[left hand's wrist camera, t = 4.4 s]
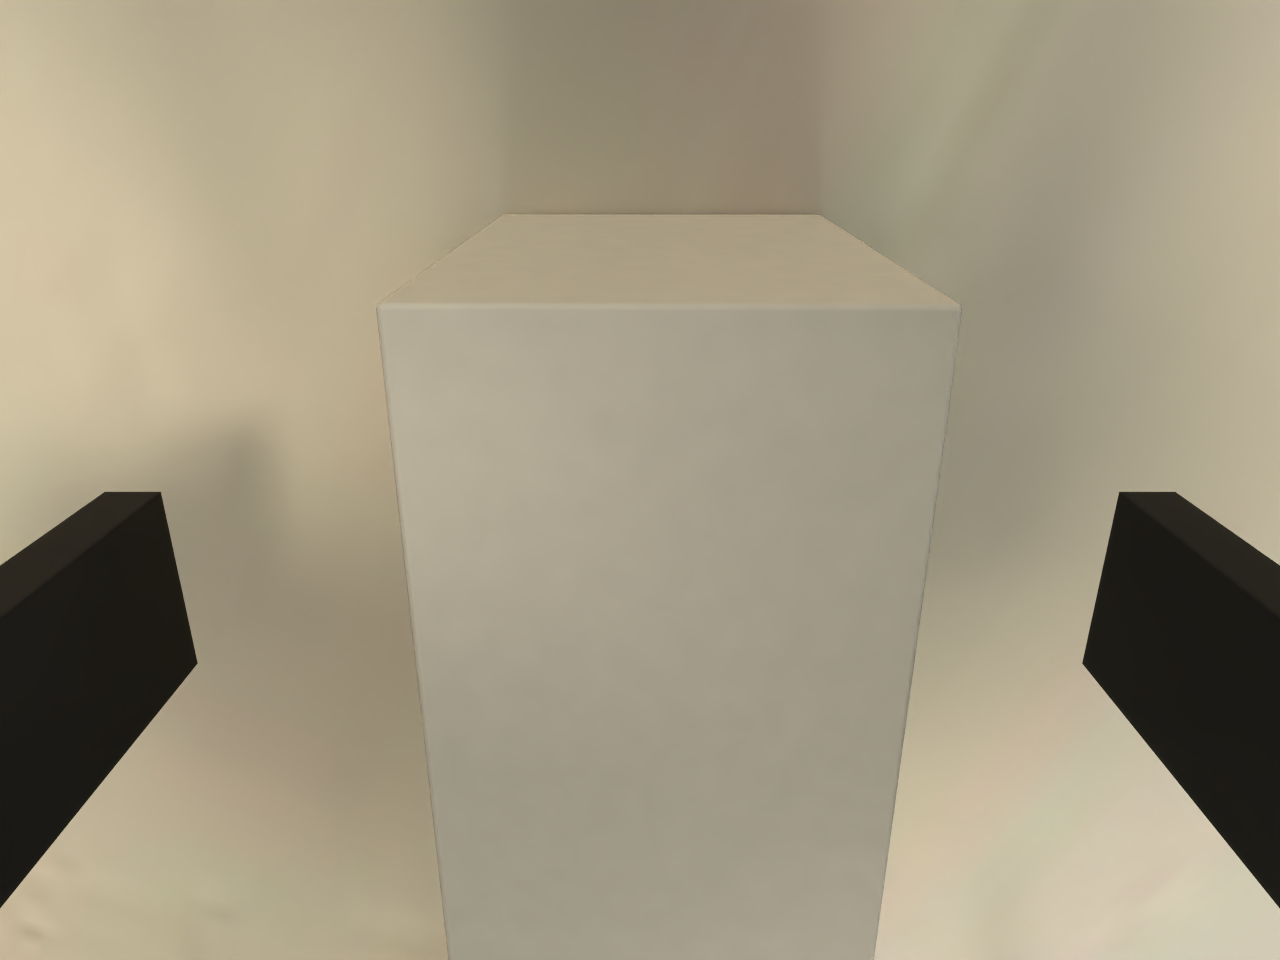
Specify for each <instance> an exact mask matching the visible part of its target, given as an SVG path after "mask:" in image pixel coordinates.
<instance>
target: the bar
mask: <svg viewBox="0 0 1280 960" xmlns="http://www.w3.org/2000/svg"><path fill="white" fill-rule="evenodd" d="M376 310H377V319H378V328H379V337H380V346H381V355H382V364H383V373H384V382H385V391H386V400H387V409H388V418H389V427H390V436H391V445H392V454H393V463H394V472H395V481H396V490H397V499H398V508H399V517H400V526H401V535H402V544H403V553H404V562H405V571H406V580H407V589H408V598H409V607H410V616H411V625H412V634H413V643H414V652H415V661H416V670H417V679H418V688H419V696H420V705H421V714H422V723H423V732H424V741H425V750H426V759H427V768H428V777H429V786H430V795H431V804H432V813H433V822H434V831H435V840H436V849H437V858H438V867H439V876H440V885H441V894H442V903H443V912H444V921H445V930H446V939H447V948H448V957H449V960H874V954H875V946H876V939H877V932H878V924H879V917H880V910H881V902H882V895H883V887H884V880H885V873H886V865H887V858H888V851H889V843H890V836H891V829H892V821H893V814H894V807H895V799H896V792H897V785H898V777H899V770H900V762H901V755H902V748H903V740H904V733H905V726H906V718H907V711H908V704H909V696H910V689H911V682H912V674H913V667H914V659H915V652H916V645H917V637H918V630H919V623H920V615H921V608H922V601H923V593H924V586H925V579H926V571H927V564H928V557H929V549H930V542H931V534H932V527H933V520H934V512H935V505H936V498H937V490H938V483H939V476H940V468H941V461H942V454H943V446H944V439H945V431H946V424H947V417H948V409H949V402H950V395H951V387H952V380H953V373H954V365H955V358H956V351H957V343H958V336H959V329H960V321H961V314H962V309H961V305H959V304H958V303H956V302H955V301H953V300H952V299H950V298H948V297H947V296H945V295H944V294H942V293H941V292H939V291H938V290H936V289H935V288H933V287H931V286H930V285H928V284H927V283H925V282H924V281H922V280H921V279H919V278H917V277H916V276H914V275H913V274H911V273H910V272H908V271H907V270H905V269H903V268H902V267H900V266H899V265H897V264H896V263H894V262H893V261H891V260H889V259H888V258H886V257H885V256H883V255H882V254H880V253H879V252H877V251H875V250H874V249H872V248H871V247H869V246H868V245H866V244H865V243H863V242H861V241H860V240H858V239H857V238H855V237H854V236H852V235H851V234H849V233H847V232H846V231H844V230H843V229H841V228H840V227H838V226H837V225H835V224H833V223H832V222H830V221H829V220H827V219H826V218H824V217H823V216H821V215H760V214H504V215H502V216H500V217H499V218H498V219H496V220H495V221H493V222H492V223H490V224H489V225H488V226H486V227H485V228H483V229H482V230H481V231H479V232H478V233H476V234H475V235H474V236H472V237H471V238H469V239H468V240H467V241H465V242H464V243H462V244H461V245H460V246H458V247H457V248H455V249H454V250H453V251H451V252H450V253H448V254H447V255H446V256H444V257H443V258H441V259H440V260H439V261H437V262H436V263H434V264H433V265H431V266H430V267H429V268H427V269H426V270H424V271H423V272H422V273H420V274H419V275H417V276H416V277H415V278H413V279H412V280H410V281H409V282H408V283H406V284H405V285H403V286H402V287H401V288H399V289H398V290H396V291H395V292H394V293H392V294H391V295H389V296H388V297H387V298H385V299H384V300H382V301H381V302H380V303H378V305H377V308H376Z"/></svg>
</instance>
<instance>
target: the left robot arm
mask: <svg viewBox="0 0 1280 960" xmlns="http://www.w3.org/2000/svg"><path fill="white" fill-rule="evenodd" d="M197 664H198V663H197V658H196V654H195V649H194V645H193V640H192V635H191V631H190V626H189V621H188V617H187V612H186V607H185V603H184V598H183V593H182V589H181V584H180V579H179V575H178V570H177V565H176V561H175V556H174V552H173V547H172V542H171V538H170V533H169V528H168V524H167V519H166V514H165V510H164V505H163V500H162V496H161V492H104V493H103V494H101V495H100V496H98V497H97V498H96V499H94V500H93V501H91V502H90V503H88V504H87V505H86V506H84V507H83V508H81V509H80V510H79V511H77V512H76V513H74V514H73V515H71V516H70V517H69V518H67V519H66V520H64V521H63V522H61V523H60V524H59V525H57V526H56V527H54V528H53V529H52V530H50V531H49V532H47V533H46V534H44V535H43V536H42V537H40V538H39V539H37V540H36V541H35V542H33V543H32V544H30V545H29V546H27V547H26V548H25V549H23V550H22V551H20V552H19V553H18V554H16V555H15V556H13V557H12V558H10V559H9V560H8V561H6V562H5V563H3V564H2V565H0V908H1V907H2V905H3V904H4V903H5V902H6V900H7V899H8V898H9V897H10V895H11V894H12V893H13V892H14V890H15V889H16V888H17V887H18V886H19V884H20V883H21V882H22V881H23V879H24V878H25V877H26V876H27V874H28V873H29V872H30V871H31V869H32V868H33V867H34V866H35V864H36V863H37V862H38V861H39V859H40V858H41V857H42V856H43V854H44V853H45V852H46V851H47V850H48V848H49V847H50V846H51V845H52V843H53V842H54V841H55V840H56V838H57V837H58V836H59V835H60V833H61V832H62V831H63V830H64V828H65V827H66V826H67V825H68V823H69V822H70V821H71V820H72V819H73V817H74V816H75V815H76V814H77V812H78V811H79V810H80V809H81V807H82V806H83V805H84V804H85V802H86V801H87V800H88V799H89V797H90V796H91V795H92V794H93V792H94V791H95V790H96V789H97V788H98V786H99V785H100V784H101V783H102V781H103V780H104V779H105V778H106V776H107V775H108V774H109V773H110V771H111V770H112V769H113V768H114V766H115V765H116V764H117V763H118V761H119V760H120V759H121V758H122V757H123V755H124V754H125V753H126V752H127V750H128V749H129V748H130V747H131V745H132V744H133V743H134V742H135V740H136V739H137V738H138V737H139V735H140V734H141V733H142V732H143V730H144V729H145V728H146V727H147V726H148V724H149V723H150V722H151V721H152V719H153V718H154V717H155V716H156V714H157V713H158V712H159V711H160V709H161V708H162V707H163V706H164V704H165V703H166V702H167V701H168V699H169V698H170V697H171V696H172V695H173V693H174V692H175V691H176V690H177V688H178V687H179V686H180V685H181V683H182V682H183V681H184V680H185V678H186V677H187V676H188V675H189V673H190V672H191V671H192V670H193V668H194V667H195V666H196V665H197ZM1082 664H1083V665H1084V666H1085V667H1086V668H1087V670H1088V671H1089V672H1090V673H1091V675H1092V676H1093V677H1094V678H1095V680H1096V681H1097V682H1098V683H1099V685H1100V686H1101V687H1102V688H1103V690H1104V691H1105V692H1106V693H1107V695H1108V696H1109V697H1110V698H1111V699H1112V701H1113V702H1114V703H1115V704H1116V706H1117V707H1118V708H1119V709H1120V711H1121V712H1122V713H1123V714H1124V716H1125V717H1126V718H1127V719H1128V721H1129V722H1130V723H1131V724H1132V726H1133V727H1134V728H1135V729H1136V730H1137V732H1138V733H1139V734H1140V735H1141V737H1142V738H1143V739H1144V740H1145V742H1146V743H1147V744H1148V745H1149V747H1150V748H1151V749H1152V750H1153V752H1154V753H1155V754H1156V755H1157V757H1158V758H1159V759H1160V760H1161V761H1162V763H1163V764H1164V765H1165V766H1166V768H1167V769H1168V770H1169V771H1170V773H1171V774H1172V775H1173V776H1174V778H1175V779H1176V780H1177V781H1178V783H1179V784H1180V785H1181V786H1182V788H1183V789H1184V790H1185V791H1186V792H1187V794H1188V795H1189V796H1190V797H1191V799H1192V800H1193V801H1194V802H1195V804H1196V805H1197V806H1198V807H1199V809H1200V810H1201V811H1202V812H1203V814H1204V815H1205V816H1206V817H1207V819H1208V820H1209V821H1210V822H1211V823H1212V825H1213V826H1214V827H1215V828H1216V830H1217V831H1218V832H1219V833H1220V835H1221V836H1222V837H1223V838H1224V840H1225V841H1226V842H1227V843H1228V845H1229V846H1230V847H1231V848H1232V850H1233V851H1234V852H1235V853H1236V855H1237V856H1238V857H1239V858H1240V859H1241V861H1242V862H1243V863H1244V864H1245V866H1246V867H1247V868H1248V869H1249V871H1250V872H1251V873H1252V874H1253V876H1254V877H1255V878H1256V879H1257V881H1258V882H1259V883H1260V884H1261V886H1262V887H1263V888H1264V889H1265V890H1266V892H1267V893H1268V894H1269V895H1270V897H1271V898H1272V899H1273V900H1274V902H1275V903H1276V904H1277V905H1278V907H1279V908H1280V565H1278V564H1277V563H1275V562H1274V561H1272V560H1271V559H1270V558H1268V557H1267V556H1265V555H1264V554H1262V553H1261V552H1260V551H1258V550H1257V549H1255V548H1254V547H1253V546H1251V545H1250V544H1248V543H1247V542H1245V541H1244V540H1243V539H1241V538H1240V537H1238V536H1237V535H1236V534H1234V533H1233V532H1231V531H1230V530H1228V529H1227V528H1226V527H1224V526H1223V525H1221V524H1220V523H1219V522H1217V521H1216V520H1214V519H1213V518H1211V517H1210V516H1209V515H1207V514H1206V513H1204V512H1203V511H1201V510H1200V509H1199V508H1197V507H1196V506H1194V505H1193V504H1192V503H1190V502H1189V501H1187V500H1186V499H1184V498H1183V497H1182V496H1180V495H1179V494H1177V493H1176V492H1119V496H1118V500H1117V505H1116V510H1115V514H1114V519H1113V524H1112V528H1111V533H1110V538H1109V542H1108V547H1107V552H1106V556H1105V561H1104V565H1103V570H1102V575H1101V579H1100V584H1099V589H1098V593H1097V598H1096V603H1095V607H1094V612H1093V617H1092V621H1091V626H1090V631H1089V635H1088V640H1087V645H1086V649H1085V654H1084V658H1083V663H1082Z"/></svg>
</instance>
